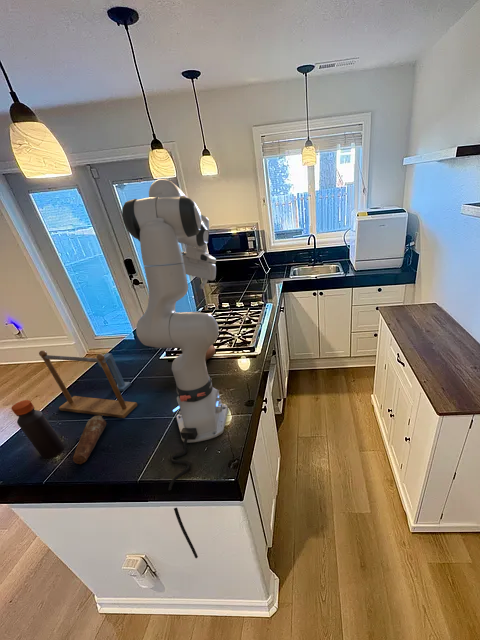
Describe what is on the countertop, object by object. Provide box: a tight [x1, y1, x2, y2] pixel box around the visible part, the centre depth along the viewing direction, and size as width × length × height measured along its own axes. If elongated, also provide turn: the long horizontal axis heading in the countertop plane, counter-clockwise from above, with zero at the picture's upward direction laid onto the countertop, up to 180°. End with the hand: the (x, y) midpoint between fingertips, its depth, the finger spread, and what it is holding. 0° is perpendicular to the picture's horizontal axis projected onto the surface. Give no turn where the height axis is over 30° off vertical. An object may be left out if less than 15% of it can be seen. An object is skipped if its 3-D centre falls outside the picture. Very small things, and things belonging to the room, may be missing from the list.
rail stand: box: [38, 350, 138, 419], centre depth 119 cm, size 31×8×25 cm, turn 75°
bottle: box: [10, 399, 65, 459], centre depth 101 cm, size 7×7×20 cm
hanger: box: [97, 353, 132, 392], centre depth 131 cm, size 8×5×16 cm
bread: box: [72, 415, 108, 465], centre depth 106 cm, size 6×19×6 cm, turn 7°
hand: (192, 286), depth 145 cm, fingers open, 8 cm apart
